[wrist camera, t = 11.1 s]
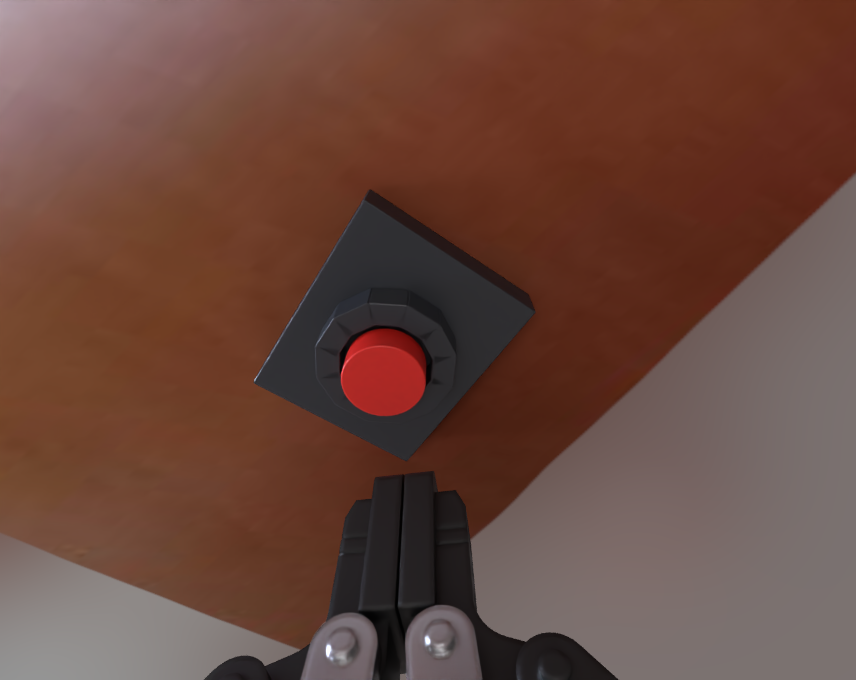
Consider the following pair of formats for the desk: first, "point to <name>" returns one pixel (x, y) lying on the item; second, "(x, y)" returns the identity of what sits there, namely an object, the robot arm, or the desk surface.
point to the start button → (384, 372)
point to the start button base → (394, 323)
